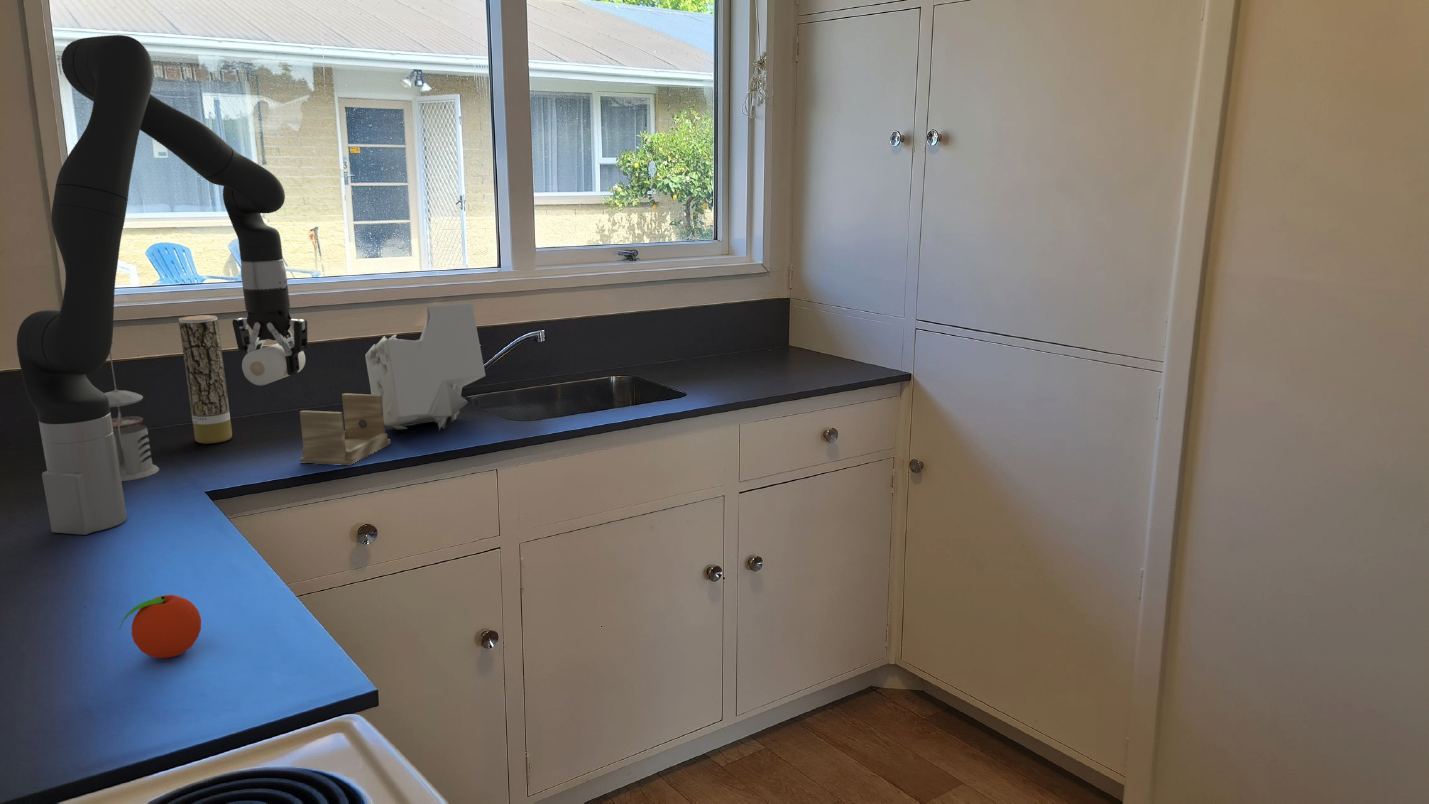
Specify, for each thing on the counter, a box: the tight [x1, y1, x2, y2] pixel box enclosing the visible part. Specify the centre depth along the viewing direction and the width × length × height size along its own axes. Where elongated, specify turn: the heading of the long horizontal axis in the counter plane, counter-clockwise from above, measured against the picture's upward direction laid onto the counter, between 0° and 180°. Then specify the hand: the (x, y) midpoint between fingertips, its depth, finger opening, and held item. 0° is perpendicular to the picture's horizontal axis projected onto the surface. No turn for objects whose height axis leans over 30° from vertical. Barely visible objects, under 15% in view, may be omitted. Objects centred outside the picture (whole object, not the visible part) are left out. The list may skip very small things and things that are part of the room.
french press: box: [103, 338, 160, 482], centre depth 175 cm, size 10×12×25 cm
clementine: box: [118, 594, 202, 659], centre depth 111 cm, size 8×7×7 cm
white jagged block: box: [364, 301, 487, 431], centre depth 205 cm, size 20×16×25 cm
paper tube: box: [178, 314, 233, 445], centre depth 196 cm, size 7×7×25 cm
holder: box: [299, 392, 392, 465], centre depth 188 cm, size 15×10×10 cm, turn 169°
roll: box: [241, 342, 306, 386], centre depth 184 cm, size 11×6×6 cm, turn 170°
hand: (276, 373), depth 184 cm, fingers closed on roll, 6 cm apart
